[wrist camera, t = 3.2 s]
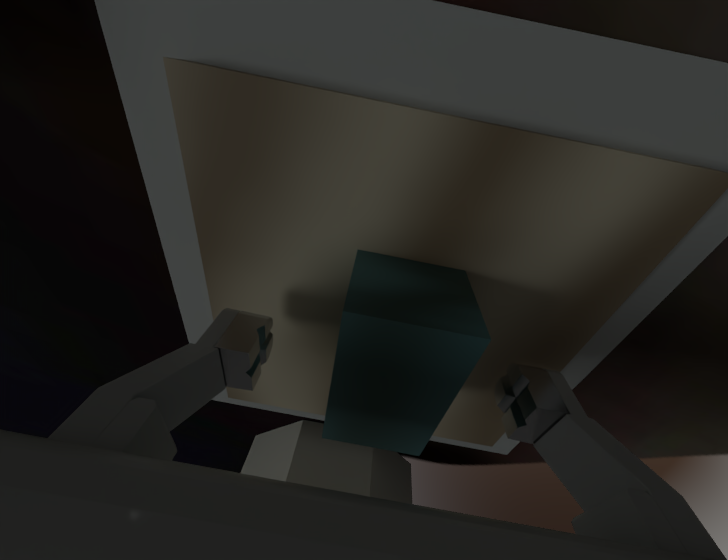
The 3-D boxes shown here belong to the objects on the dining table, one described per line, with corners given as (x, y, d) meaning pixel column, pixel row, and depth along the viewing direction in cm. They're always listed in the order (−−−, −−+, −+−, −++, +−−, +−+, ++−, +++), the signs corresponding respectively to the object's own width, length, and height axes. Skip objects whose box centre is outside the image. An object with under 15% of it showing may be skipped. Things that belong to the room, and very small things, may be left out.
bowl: (424, 442, 18) (434, 577, 13) (387, 503, 24) (384, 610, 19) (252, 410, 18) (197, 535, 13) (260, 480, 24) (225, 582, 19)
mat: (837, 93, 7) (871, 93, 6) (503, 443, 17) (506, 454, 17) (97, -64, 7) (72, -77, 6) (210, 389, 17) (204, 398, 16)
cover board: (709, 168, 7) (936, 225, 4) (488, 431, 15) (511, 518, 12) (184, 60, 7) (21, 38, 4) (235, 384, 15) (193, 460, 12)
